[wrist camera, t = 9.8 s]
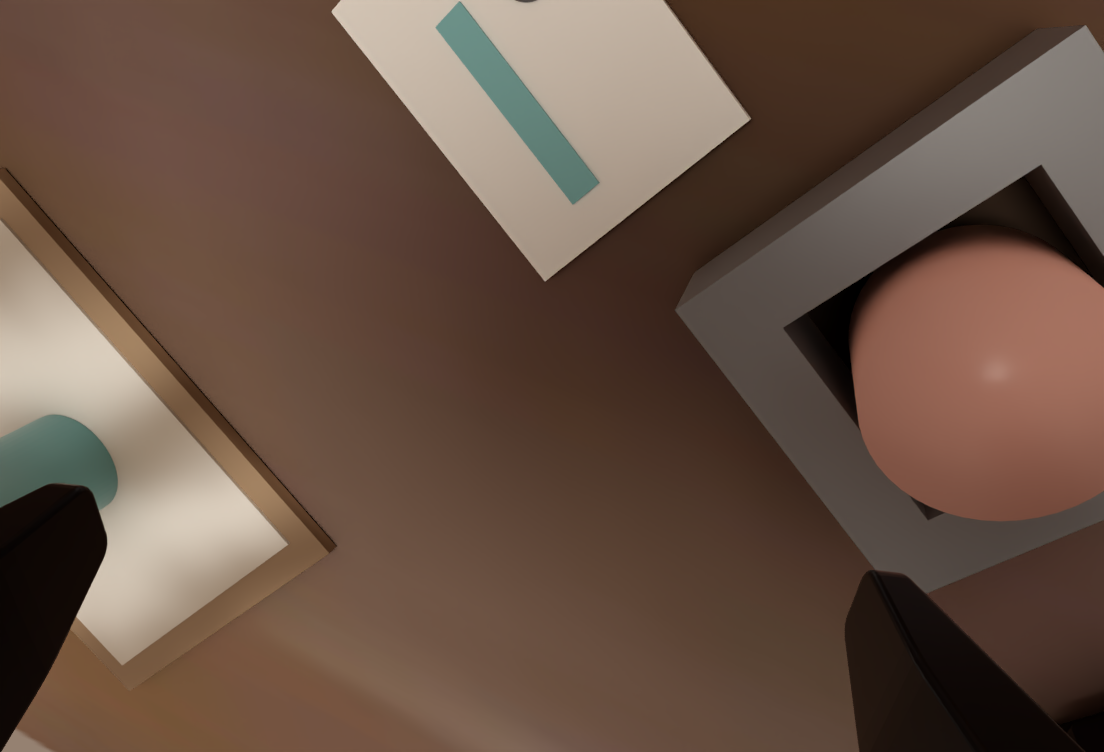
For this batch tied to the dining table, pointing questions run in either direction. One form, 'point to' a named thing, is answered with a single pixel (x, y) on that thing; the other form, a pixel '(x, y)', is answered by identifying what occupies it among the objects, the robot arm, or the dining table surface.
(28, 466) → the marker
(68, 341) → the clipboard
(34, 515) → the robot arm
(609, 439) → the dining table surface
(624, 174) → the card
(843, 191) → the button box
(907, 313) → the button
